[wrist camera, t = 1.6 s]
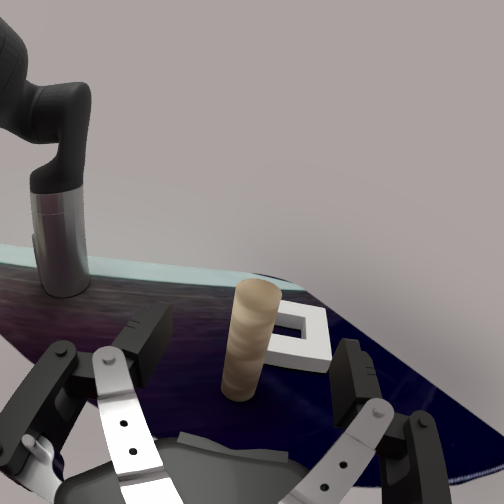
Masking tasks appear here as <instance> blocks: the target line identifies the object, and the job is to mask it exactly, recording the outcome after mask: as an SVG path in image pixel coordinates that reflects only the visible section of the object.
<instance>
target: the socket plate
mask: <svg viewBox="0 0 504 504" xmlns="http://www.w3.org/2000/svg"><path fill="white" fill-rule="evenodd" d="M274 325H278V326H284V327H289V328H295V329H300V330H301V339H299V338H293V337H288V336H282V335H277V334H271V338H270V342H269V345H268V349H267V352H266V356H265V359H264V363H265V364H270V365H276V366H281V367H287V368H294V369H300V370H307V371H314V372H321V373H326V372H327V370H328V368H329V366H330V363H331V360H332V355H331V347H330V340H329V332H328V325H327V318H326V311H325V308H320V307H315V306H309V305H304V304H299V303H293V302H288V301H283V300H281V301H280V305H279V308H278V312H277V316H276V320H275V323H274Z"/></svg>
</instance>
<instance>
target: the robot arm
mask: <svg viewBox="0 0 504 504" xmlns="http://www.w3.org/2000/svg"><path fill="white" fill-rule="evenodd" d="M27 69H28V54H27V49H26V46H25V44H24V42H23V40H22V39H21V38H20V37H19V36H18V34H16V32H15V31H14V30H13V29H12V28H11V27H9V25H8V24H7V23H6V22H5V21H4V20H3V19H2V18H1V17H0V128H3V129H6V130H8V131H9V132H11V133H13V134H15V135H17V136H19V137H20V138H22V139H24V140H26V141H28V142H30V143H33V144H50V143H59V146H58V152H57V155H56V156H55V158H54V159H53V160H52V161H50V162H49V163H47V164H46V165H44V166H41V167H39V168H37V169H36V170H34V171H33V172H32V173H31V175H30V196H31V210H32V219H33V228H34V234H33V235H32V241H33V247H34V253H35V259H36V264H37V269H38V274H39V278H40V282H41V285H43V286H44V288H45V291H46V292H47V293H48V294H50V295H52V296H55V297H70V296H74V295H76V294H79V293H81V292H82V291H84V290H85V289H86V288H87V287H88V285H89V283H90V276H89V268H88V259H87V251H86V239H85V226H84V203H83V172H84V165H85V152H86V151H85V150H86V141H87V133H88V126H89V120H90V113H91V91H90V89H89V86H88V85H87V84H86V83H84V82H72V83H64V84H56V85H49V86H36V85H34V84H32V83H30V82H29V81H27V80H26V76H27ZM172 332H173V307H172V304H169V303H165V302H161V301H155V303H154V304H153V305H152V307H151V308H150V309H147V308H143V309H142V310H140V311H138V312H136V313H135V314H134V316H133V317H132V318H131V320H130V321H129V322H128V324H127V325H126V327H124V329H123V330H122V331H121V333H120V334H119V335H118V337H117V338H116V339H115V341H114V342H113V343H112V345H111V346H106V347H102V348H100V349H98V350H97V351H96V352H95V353H85V352H77V351H76V348H75V346H74V345H73V344H72V343H71V342H69V341H65V340H62V341H57V342H55V343H53V344H52V345H50V347H49V348H48V349H47V350H46V351H45V353H44V354H43V355H42V357H41V358H40V359H39V360H38V362H37V363H36V364H35V365H34V367H33V368H32V369H31V371H30V372H29V374H28V375H27V376H26V377H25V379H24V380H23V381H22V383H21V384H20V386H19V387H18V388H17V390H16V391H15V393H14V394H13V395H12V397H11V398H10V400H9V401H8V403H7V404H6V406H5V407H4V409H3V410H2V412H1V413H0V471H1V472H2V473H3V474H4V475H5V476H7V477H8V478H9V479H11V480H12V481H14V482H15V483H16V484H18V485H21V486H22V487H24V488H25V489H27V490H28V491H31V492H35V493H36V494H37V495H39V496H41V497H42V498H44V499H45V500H47V501H49V502H50V503H52V504H339V502H340V501H341V500H342V499H343V498H344V496H345V495H346V494H347V492H348V491H349V490H350V488H351V487H352V486H353V485H354V483H355V482H356V481H357V479H358V478H359V476H360V475H361V474H362V472H363V471H364V469H365V468H366V466H367V465H368V463H369V462H370V460H371V459H372V457H373V456H374V454H376V455H379V459H380V471H381V488H382V504H452V502H451V494H450V488H449V482H448V476H447V471H446V466H445V461H444V456H443V452H442V447H441V443H440V439H439V435H438V431H437V428H436V424H435V421H434V419H433V417H432V416H431V415H430V414H429V413H427V412H425V411H415V412H414V413H413V414H412V415H411V416H410V417H409V416H405V415H402V414H398V413H395V412H394V410H393V408H392V406H391V405H390V404H389V403H388V402H387V401H385V400H383V399H382V395H381V391H380V387H379V384H378V380H377V376H376V373H375V369H374V365H373V362H372V359H371V358H370V356H369V355H368V354H367V353H366V352H365V351H361V348H360V345H359V341H358V340H353V339H345V338H342V339H341V341H340V343H339V345H338V347H337V349H336V352H335V354H334V356H333V358H332V360H331V363H330V367H329V377H330V386H331V395H332V405H333V416H334V428H343V433H342V435H341V436H340V437H339V438H338V439H337V441H336V442H335V443H334V444H333V445H332V447H331V448H330V449H329V450H328V451H327V452H326V453H325V455H324V456H323V457H322V458H321V459H320V460H319V461H318V462H317V463H316V464H315V466H314V467H313V468H312V469H311V470H310V471H309V470H308V469H307V468H305V467H304V466H302V465H301V464H299V463H297V462H295V461H293V460H290V459H288V452H283V451H274V450H266V449H254V450H231V449H229V448H226V447H224V446H222V445H220V444H217V443H215V442H213V441H211V440H209V439H207V438H203V437H199V436H195V435H191V434H187V433H184V432H180V435H179V438H162V439H158V440H155V441H153V440H152V437H151V435H150V432H149V430H148V427H147V424H146V422H145V419H144V416H143V413H142V410H141V408H140V405H139V402H138V399H137V396H136V393H135V389H136V387H137V388H140V389H143V390H144V389H145V387H146V385H147V383H148V381H149V379H150V378H151V376H152V374H153V372H154V370H155V368H156V366H157V364H158V362H159V361H160V359H161V357H162V355H163V353H164V351H165V349H166V347H167V346H168V344H169V342H170V340H171V337H172ZM88 398H89V399H96V400H97V402H98V407H99V411H100V416H101V420H102V424H103V429H104V432H105V436H106V440H107V444H108V447H109V451H110V454H111V457H112V461H109V462H107V463H105V464H102V465H101V466H98V467H95V468H93V469H90V470H88V471H86V472H83V473H80V474H78V475H75V476H72V477H70V478H68V479H66V480H65V481H64V478H63V470H64V460H63V457H62V455H61V454H60V451H61V449H62V447H63V445H64V443H65V441H66V439H67V437H68V435H69V433H70V431H71V429H72V428H73V426H74V423H75V422H76V420H77V418H78V416H79V414H80V412H81V411H82V408H83V407H84V405H85V403H86V401H87V400H88Z"/></svg>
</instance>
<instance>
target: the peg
mask: <svg viewBox="0 0 504 504" xmlns="http://www.w3.org/2000/svg"><path fill="white" fill-rule="evenodd" d="M281 297H282V293H281V290H280V289H279V288H278V287H277V286H276V285H274V284H273V283H271V282H268V281H265V280H261V279H246V280H243V281H241V282H239V283H238V284H237V286H236V291H235V297H234V304H233V310H232V317H231V323H230V330H229V337H228V343H227V350H226V357H225V363H224V370H223V377H222V384H221V390H222V392H223V394H224V395H225V396H226V397H227V398H228V399H230V400H233V401H237V402H243V401H247V400H249V399H250V398H252V397H253V395H254V393H255V390H256V387H257V383H258V380H259V377H260V373H261V370H262V366H263V363H264V359H265V356H266V352H267V349H268V345H269V342H270V338H271V334H272V331H273V327H274V323H275V320H276V316H277V312H278V308H279V305H280V301H281Z"/></svg>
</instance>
